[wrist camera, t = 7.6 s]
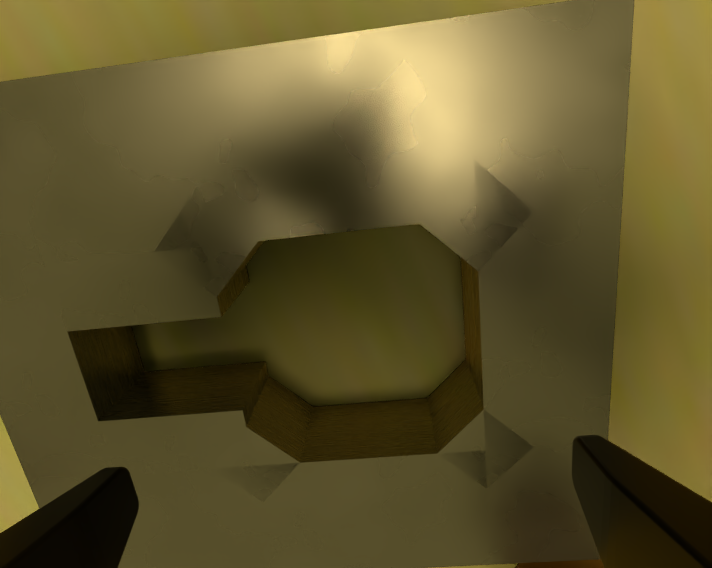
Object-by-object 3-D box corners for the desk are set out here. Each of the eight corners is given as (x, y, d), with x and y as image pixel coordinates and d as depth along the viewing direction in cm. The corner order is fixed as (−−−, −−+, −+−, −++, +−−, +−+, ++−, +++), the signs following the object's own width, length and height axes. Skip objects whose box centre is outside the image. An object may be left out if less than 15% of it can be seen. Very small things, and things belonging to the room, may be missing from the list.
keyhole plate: (578, 20, 13) (634, -9, 10) (565, 490, 18) (600, 559, 15) (-31, 104, 14) (-132, 100, 12) (116, 517, 19) (71, 584, 17)
